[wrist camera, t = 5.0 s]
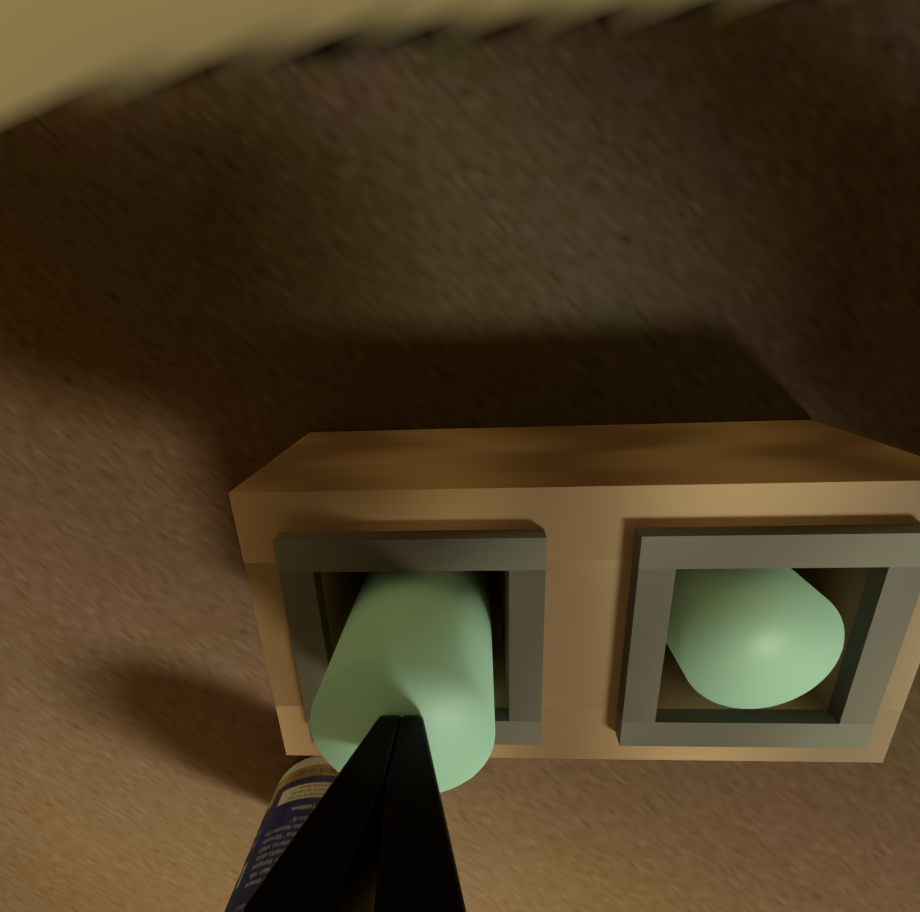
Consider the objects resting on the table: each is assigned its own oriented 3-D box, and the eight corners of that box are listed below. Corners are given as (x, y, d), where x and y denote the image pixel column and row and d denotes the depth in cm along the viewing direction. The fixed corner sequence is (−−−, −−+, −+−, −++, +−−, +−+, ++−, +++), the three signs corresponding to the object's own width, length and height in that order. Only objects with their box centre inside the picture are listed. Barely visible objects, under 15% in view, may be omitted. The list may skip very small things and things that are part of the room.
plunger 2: (731, 488, 14) (863, 582, 10) (715, 582, 16) (825, 709, 11) (620, 489, 15) (692, 583, 10) (612, 582, 16) (672, 708, 11)
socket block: (813, 419, 14) (1010, 487, 9) (765, 630, 16) (896, 777, 11) (309, 432, 15) (218, 500, 9) (339, 631, 17) (280, 769, 12)
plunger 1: (488, 521, 13) (494, 656, 8) (490, 624, 14) (496, 797, 9) (365, 523, 13) (296, 656, 8) (377, 624, 14) (323, 794, 9)
